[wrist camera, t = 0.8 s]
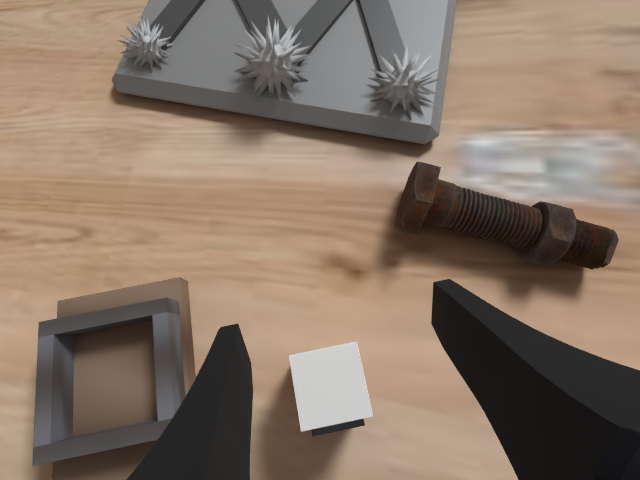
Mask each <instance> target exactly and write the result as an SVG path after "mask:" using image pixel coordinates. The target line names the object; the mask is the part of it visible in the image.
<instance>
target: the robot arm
mask: <svg viewBox="0 0 640 480" xmlns="http://www.w3.org/2000/svg"><path fill="white" fill-rule="evenodd" d="M431 323H432V326H433V328H434V330H435V332H436V334H437V336H438V338H439V340H440V342H441V344H442V346H443V348H444V350H445V351H446V353H447V354H448V356H449V358H450V359H451V361H452V362H453V364H454V365H455V367H456V368H457V370H458V371H459V373H460V374H461V376H462V378H463V379H464V381H465V382H466V384H467V385H468V387H469V388H470V390H471V391H472V393H473V394H474V396H475V397H476V399H477V400H478V402H479V404H480V405H481V407H482V409H483V410H484V412H485V414H486V416H487V418H488V420H489V422H490V423H491V425H492V427H493V429H494V431H495V433H496V435H497V437H498V439H499V441H500V443H501V445H502V447H503V449H504V451H505V453H506V455H507V457H508V459H509V461H510V463H511V465H512V467H513V469H514V471H515V473H516V475H517V477H518V479H519V480H640V371H639V370H636V369H633V368H630V367H627V366H624V365H621V364H618V363H615V362H612V361H609V360H606V359H603V358H601V357H598V356H596V355H593V354H590V353H588V352H585V351H583V350H580V349H577V348H575V347H573V346H570V345H568V344H566V343H563V342H561V341H559V340H557V339H555V338H552V337H550V336H548V335H546V334H544V333H542V332H540V331H537V330H535V329H533V328H531V327H530V326H528V325H526V324H524V323H522V322H520V321H518V320H516V319H515V318H513V317H511V316H509V315H508V314H506V313H504V312H502V311H501V310H499V309H497V308H496V307H494V306H492V305H491V304H489V303H487V302H486V301H484V300H482V299H481V298H479V297H478V296H476V295H474V294H473V293H471V292H470V291H468V290H466V289H465V288H463V287H462V286H460V285H459V284H457V283H455V282H454V281H452V280H450V279H447V280H442V281H437V282H434V284H433V303H432V321H431ZM252 400H253V384H252V369H251V361H250V358H249V355H248V352H247V349H246V346H245V343H244V340H243V337H242V334H241V331H240V328H239V325H238V324H234V325H229V326H224V327H221V328H220V329H219V330H218V332H217V335H216V337H215V339H214V342H213V344H212V346H211V348H210V351H209V353H208V355H207V357H206V359H205V361H204V363H203V365H202V367H201V369H200V371H199V373H198V375H197V377H196V379H195V381H194V382H193V384H192V386H191V388H190V390H189V391H188V393H187V395H186V396H185V398H184V400H183V402H182V403H181V405H180V407H179V408H178V410H177V412H176V413H175V415H174V416H173V418H172V419H171V421H170V422H169V424H168V425H167V427H166V428H165V430H164V431H163V433H162V434H161V436H160V437H159V438H158V440H157V441H156V442H155V444H154V445H153V446H152V448H151V449H150V450H149V452H148V453H147V455H146V456H145V457H144V458H143V460H142V461H141V462H140V464H139V465H138V466H137V467H136V469H135V470H134V471H133V472H132V473H131V475H130V476H129V477H128V478H127V479H126V480H250V471H249V470H250V440H251V421H252Z"/></svg>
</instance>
